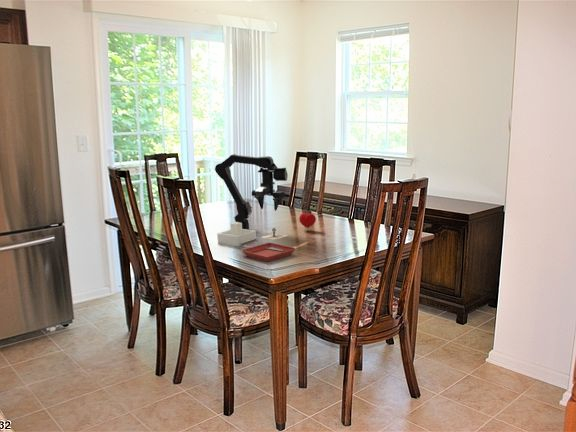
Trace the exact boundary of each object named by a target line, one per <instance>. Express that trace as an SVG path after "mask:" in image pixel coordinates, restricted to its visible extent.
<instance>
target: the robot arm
mask: <svg viewBox="0 0 576 432" xmlns="http://www.w3.org/2000/svg"><path fill="white" fill-rule="evenodd" d="M234 164H246V165H254V166H257V167H259V168H260V169H259V170H258V171H257V172H258V173H261V183H260V186H259V187H257V188H256V189H254V190H252V191H251V196H252V197H253V199H254V198H255V199H256V200H257V202H258V205H259V206H260V210H263V209H264V203H265V201H264V200H265V196H267V197H268V196H269V197H272V201H273V206H274V207H273V208H274V211H275V212H276V211H277V209H278V208H279V205H280V203H281V201H282V199H284V198H286V193H285V191H281V190H279V191H276V190H275V189H274V185H276V182H278V181H280V182H287V180H288V171H287V167H278V166H277V165H276V164H275V162H274V159H273V157H272V156H267V155H266V156H258V157H256V156H250V155H249V156H248V155H239V154H235V153H233V154H231V155H229V157H227V158H226V159H224V160H223V161H222V162H220V163H217V164H216V165H215V167H214V171H215V173H216V174H217V176H218V177H219V178H220V179H222V180H223V182H224V183H225V185H226V188H227V189H228V191H229V193H230V195H231V197H232V199H233V201H234V202H235V206H236V211H237V214H236V215H235V216H234V217H233V218H234V222H240V223H242V229H247V230H252V229H250V224H249V223H250V222H249V216H251V214H252V212H253V210H252V208H253V207H252V206H251V204H250V202H249V200H248V201H246V200H244V198H243V196H242V194H241V192H240V190H239V189H238V186H237V184H236V183H235V181H234V179H233V177H232V172H231V169H230V168H231V167H232V166H233V165H234ZM274 180H275V181H276V182H275V181H274Z"/></svg>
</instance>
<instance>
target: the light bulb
mask: <svg viewBox="0 0 576 432" xmlns="http://www.w3.org/2000/svg"><path fill="white" fill-rule="evenodd" d="M298 219H299V223H300V224H301V225H302V226H304V228H305V231H306V232H307V231H311V227H312V226H313V225H314V224H315V223H316V221H317V218H316V216H315V215H314V214H313V213H307V212H303V213H301V214H300V216H299V218H298Z"/></svg>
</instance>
